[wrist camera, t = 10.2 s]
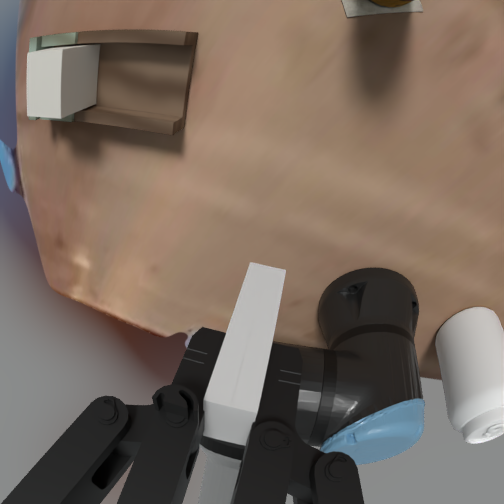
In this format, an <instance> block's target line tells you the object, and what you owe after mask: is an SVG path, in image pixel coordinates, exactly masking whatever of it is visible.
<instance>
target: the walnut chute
mask: <svg viewBox="0 0 504 504" xmlns="http://www.w3.org/2000/svg"><path fill="white" fill-rule="evenodd" d="M197 37H198V33H196V32H183V31H167V30H100V31H84V32H72V33H63V34H54V35H47V36H40V37H34V38H30V44H29V53H30V52H34V51H39V50H44V49H49V48H55V47H61V46H69V45H86V44H100V53H99V64H98V78H97V98H96V104H95V105H92V106H90V107H87V108H85V109H82V110H80V111H78V112H75V113H73V114H71V115H68V116H66V117H64V118H61V119H58V118H46V117H33V116H29V120H37V119H39V118H41V119H45V120H56V121H66V122H73V121H79V122H88V123H96V124H104V125H111V126H118V127H125V128H132V129H138V130H144V131H150V132H156V133H162V134H167V135H173V134H175V133H176V132H178V131H179V130H181V129H182V128H184V125H185V117H186V109H187V101H188V94H189V87H190V80H191V73H192V67H193V60H194V54H195V48H196V42H197Z"/></svg>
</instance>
